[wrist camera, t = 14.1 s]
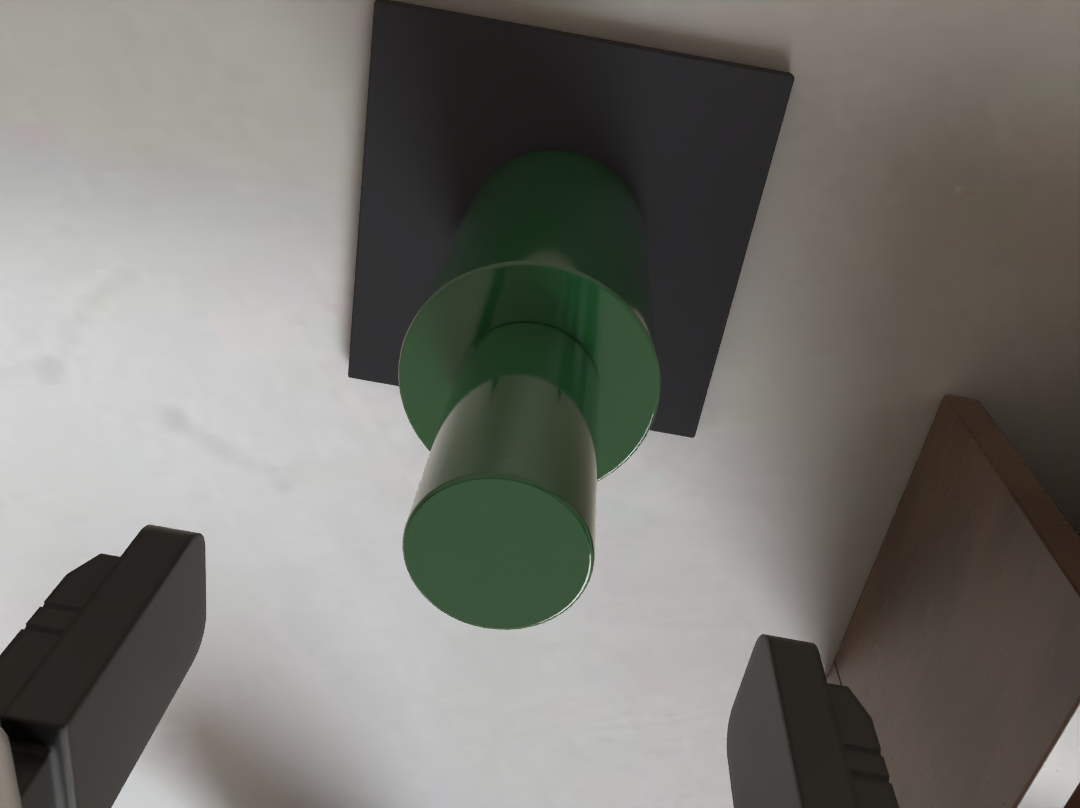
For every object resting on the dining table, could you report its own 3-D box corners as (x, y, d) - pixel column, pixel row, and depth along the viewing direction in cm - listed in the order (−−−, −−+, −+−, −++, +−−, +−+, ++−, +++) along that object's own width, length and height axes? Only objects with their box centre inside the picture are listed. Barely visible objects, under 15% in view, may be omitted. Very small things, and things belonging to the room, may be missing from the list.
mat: (378, -2, 27) (373, -1, 26) (791, 73, 27) (795, 76, 26) (351, 370, 32) (347, 377, 32) (693, 430, 33) (694, 438, 32)
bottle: (475, 133, 28) (330, 368, 14) (664, 167, 28) (716, 436, 14) (453, 309, 30) (313, 658, 16) (625, 340, 30) (635, 713, 16)
